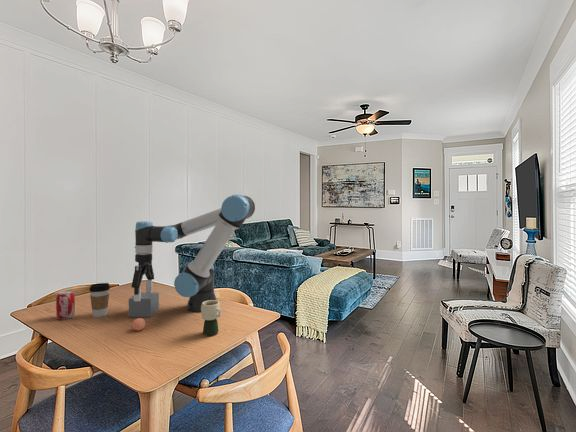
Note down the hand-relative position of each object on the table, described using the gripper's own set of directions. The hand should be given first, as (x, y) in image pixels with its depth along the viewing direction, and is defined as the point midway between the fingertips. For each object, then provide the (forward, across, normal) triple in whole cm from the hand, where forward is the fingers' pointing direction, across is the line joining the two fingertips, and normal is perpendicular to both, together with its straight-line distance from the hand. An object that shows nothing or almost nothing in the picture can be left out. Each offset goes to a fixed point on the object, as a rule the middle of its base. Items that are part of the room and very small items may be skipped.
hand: (143, 296), depth 151 cm
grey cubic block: (+8, 0, +1) cm, 8 cm away
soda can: (+9, +5, -33) cm, 35 cm away
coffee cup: (+9, +2, -19) cm, 21 cm away
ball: (+6, +20, +7) cm, 22 cm away
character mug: (+8, +24, +38) cm, 45 cm away
